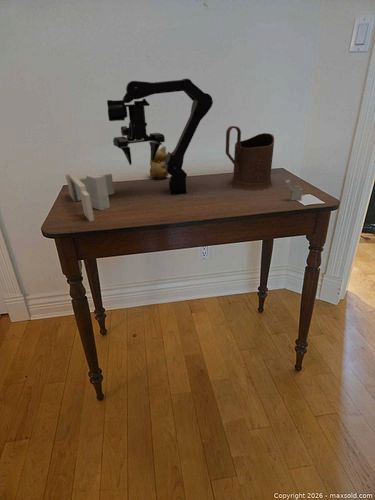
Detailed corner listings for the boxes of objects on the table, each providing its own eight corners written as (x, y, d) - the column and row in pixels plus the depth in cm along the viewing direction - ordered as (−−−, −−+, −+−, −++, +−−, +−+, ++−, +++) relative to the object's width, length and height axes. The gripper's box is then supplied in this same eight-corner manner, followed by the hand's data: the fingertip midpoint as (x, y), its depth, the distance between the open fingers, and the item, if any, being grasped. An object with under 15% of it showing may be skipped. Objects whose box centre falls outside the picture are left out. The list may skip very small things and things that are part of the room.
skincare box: (110, 207, 115) (105, 175, 110) (100, 211, 113) (95, 178, 107) (101, 204, 119) (95, 173, 113) (91, 207, 116) (85, 175, 110)
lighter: (299, 198, 119) (302, 177, 115) (301, 199, 117) (304, 179, 113) (281, 200, 118) (284, 179, 114) (284, 201, 116) (286, 180, 112)
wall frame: (69, 195, 129) (64, 170, 124) (74, 195, 129) (68, 169, 124) (89, 221, 104) (83, 190, 99) (94, 220, 105) (89, 189, 100)
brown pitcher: (282, 185, 134) (289, 123, 122) (240, 196, 122) (244, 129, 110) (251, 176, 148) (255, 119, 136) (211, 185, 136) (212, 124, 124)
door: (75, 201, 121) (71, 180, 117) (74, 199, 123) (69, 178, 119) (114, 194, 128) (111, 173, 124) (112, 192, 130) (109, 172, 126)
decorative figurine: (171, 176, 150) (170, 144, 143) (163, 181, 143) (161, 148, 136) (154, 175, 153) (152, 143, 146) (145, 179, 147) (142, 146, 140)
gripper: (151, 116, 123) (154, 156, 131) (105, 119, 115) (111, 162, 123) (164, 118, 115) (166, 161, 122) (115, 122, 107) (121, 168, 114)
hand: (141, 162), depth 121 cm, fingers open, 9 cm apart
